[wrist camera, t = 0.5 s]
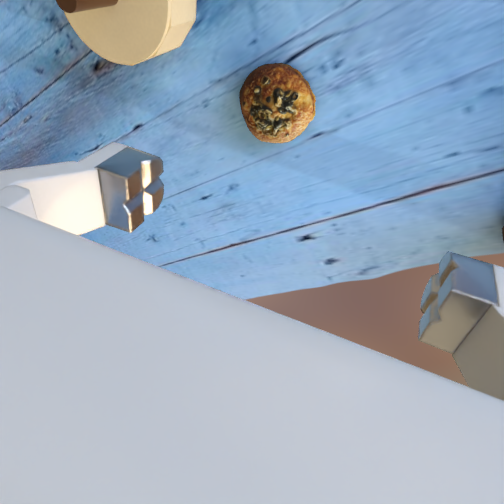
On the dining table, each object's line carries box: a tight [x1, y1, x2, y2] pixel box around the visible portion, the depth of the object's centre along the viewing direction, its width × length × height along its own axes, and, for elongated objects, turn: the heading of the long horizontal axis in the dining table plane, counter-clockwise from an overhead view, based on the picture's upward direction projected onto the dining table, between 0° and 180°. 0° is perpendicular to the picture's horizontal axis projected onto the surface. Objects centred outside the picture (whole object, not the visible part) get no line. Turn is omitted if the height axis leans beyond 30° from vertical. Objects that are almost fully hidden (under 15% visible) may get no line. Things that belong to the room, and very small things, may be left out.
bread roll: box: [239, 63, 316, 143], centre depth 55 cm, size 11×11×5 cm
